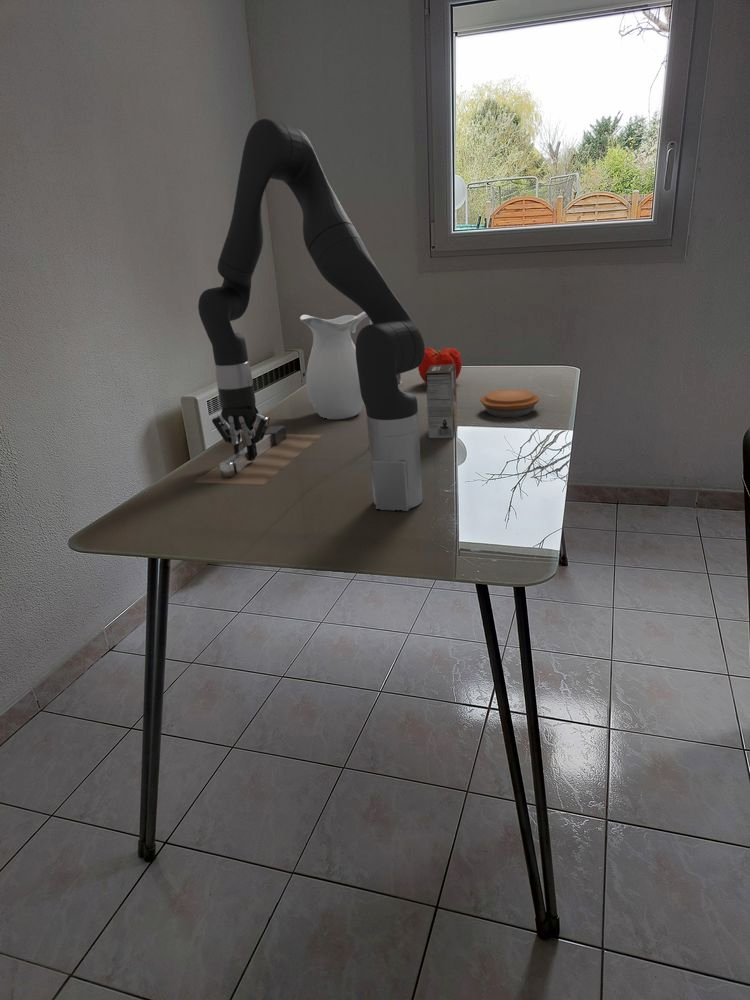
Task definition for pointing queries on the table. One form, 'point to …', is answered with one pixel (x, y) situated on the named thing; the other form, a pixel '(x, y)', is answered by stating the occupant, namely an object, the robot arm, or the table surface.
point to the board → (264, 462)
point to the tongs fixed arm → (227, 466)
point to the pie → (509, 402)
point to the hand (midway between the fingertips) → (247, 459)
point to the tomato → (440, 360)
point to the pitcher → (333, 367)
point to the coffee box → (441, 401)
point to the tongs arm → (260, 447)
